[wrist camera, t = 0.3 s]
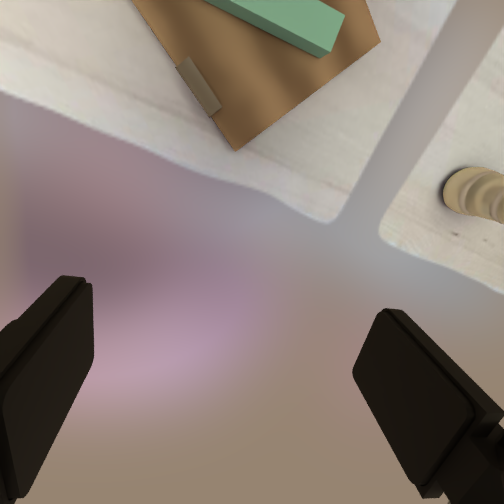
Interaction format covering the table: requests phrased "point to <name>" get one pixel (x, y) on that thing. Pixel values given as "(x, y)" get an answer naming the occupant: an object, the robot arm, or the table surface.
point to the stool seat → (250, 61)
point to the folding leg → (290, 21)
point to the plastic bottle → (476, 193)
